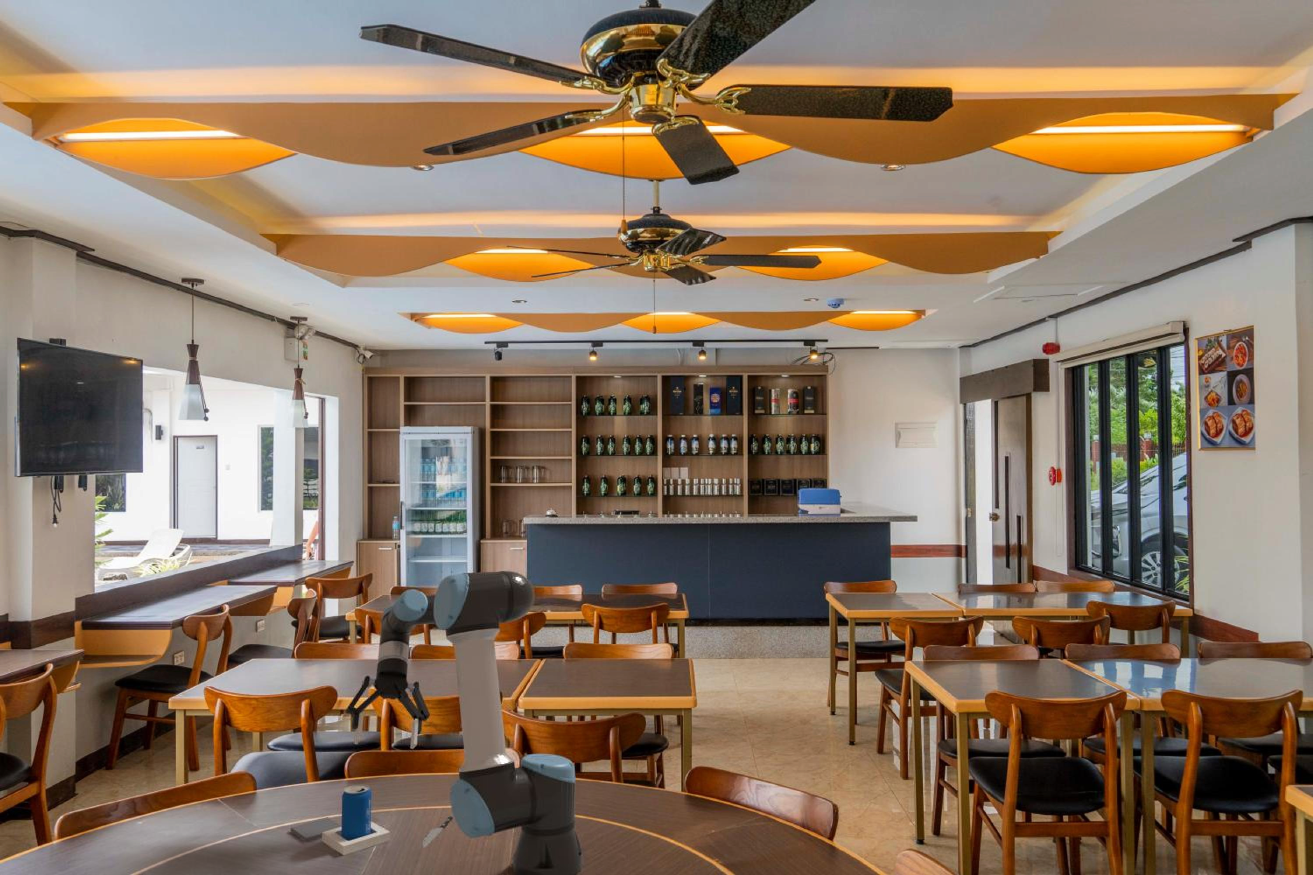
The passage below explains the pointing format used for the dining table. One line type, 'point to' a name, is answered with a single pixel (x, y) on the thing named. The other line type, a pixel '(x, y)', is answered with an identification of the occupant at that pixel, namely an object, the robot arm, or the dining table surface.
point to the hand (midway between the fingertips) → (385, 744)
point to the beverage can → (356, 812)
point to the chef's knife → (435, 832)
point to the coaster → (314, 829)
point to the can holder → (351, 846)
